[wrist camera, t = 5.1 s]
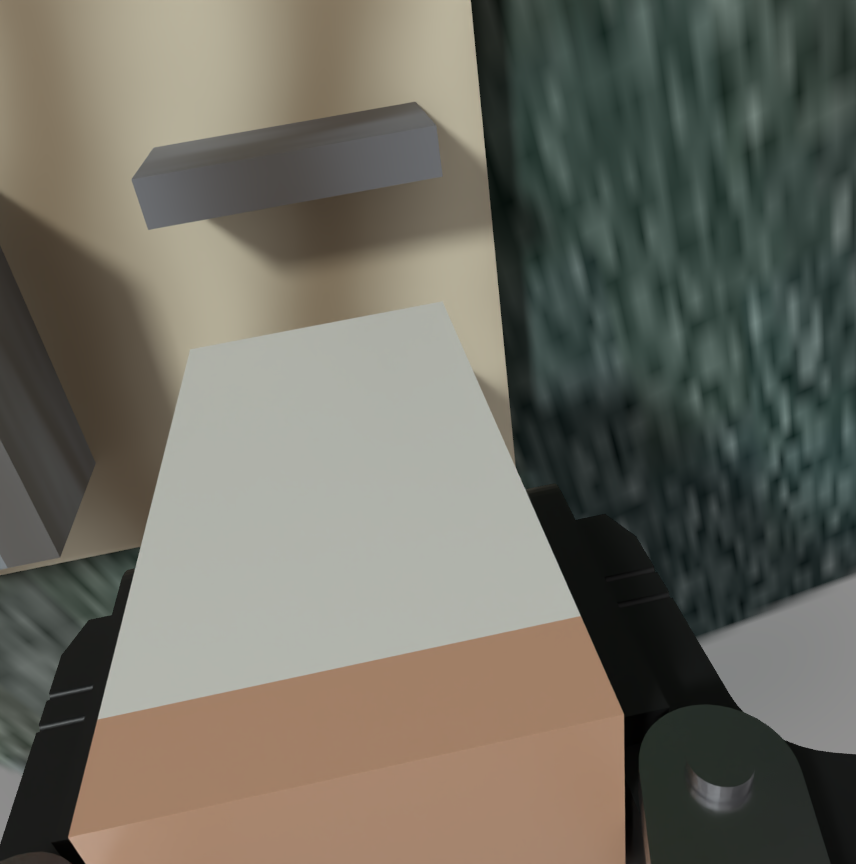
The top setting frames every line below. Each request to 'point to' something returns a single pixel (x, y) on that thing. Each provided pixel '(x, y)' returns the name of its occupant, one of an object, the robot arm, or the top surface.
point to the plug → (349, 627)
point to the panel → (214, 221)
